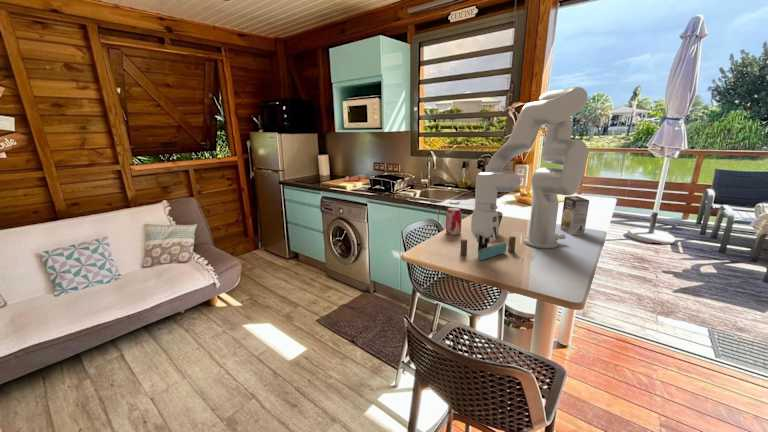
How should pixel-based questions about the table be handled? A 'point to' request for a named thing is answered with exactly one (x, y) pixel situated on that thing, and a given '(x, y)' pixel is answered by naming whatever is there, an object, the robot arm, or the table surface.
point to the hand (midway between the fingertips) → (482, 252)
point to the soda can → (453, 221)
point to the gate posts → (510, 247)
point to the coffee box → (574, 215)
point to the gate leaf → (491, 251)
